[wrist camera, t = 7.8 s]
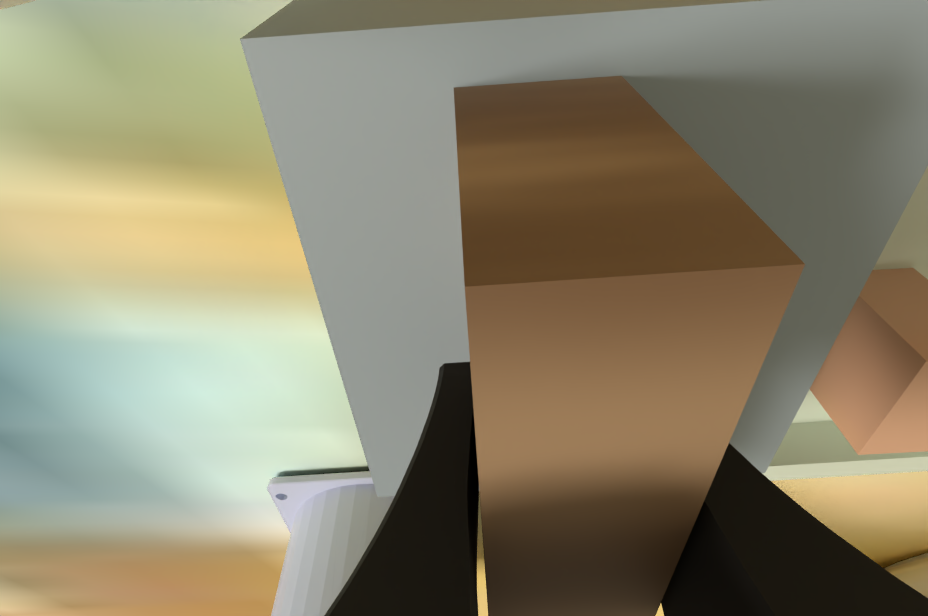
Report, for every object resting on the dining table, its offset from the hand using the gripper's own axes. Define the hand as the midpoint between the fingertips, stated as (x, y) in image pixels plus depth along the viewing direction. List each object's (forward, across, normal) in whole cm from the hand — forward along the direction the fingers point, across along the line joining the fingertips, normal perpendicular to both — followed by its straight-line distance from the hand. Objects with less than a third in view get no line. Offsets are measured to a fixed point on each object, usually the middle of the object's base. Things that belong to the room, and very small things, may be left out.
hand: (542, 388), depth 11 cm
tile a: (+3, -10, +3) cm, 11 cm away
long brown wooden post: (+2, 0, 0) cm, 2 cm away
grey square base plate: (+6, -2, 0) cm, 6 cm away
